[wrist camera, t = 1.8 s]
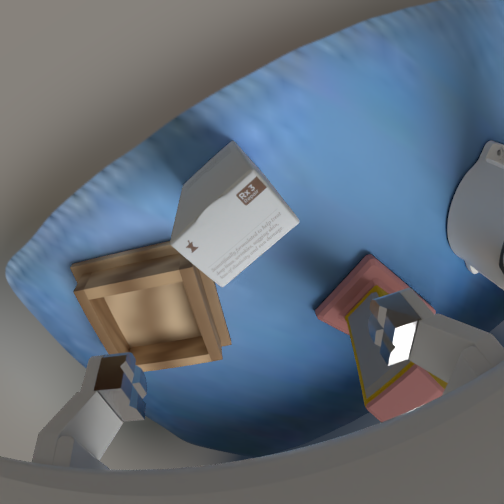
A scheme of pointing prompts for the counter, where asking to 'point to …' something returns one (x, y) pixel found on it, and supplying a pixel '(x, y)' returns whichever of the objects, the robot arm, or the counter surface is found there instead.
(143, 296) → the wooden tray
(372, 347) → the pink blocky piece
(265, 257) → the counter surface
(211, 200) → the skincare box
